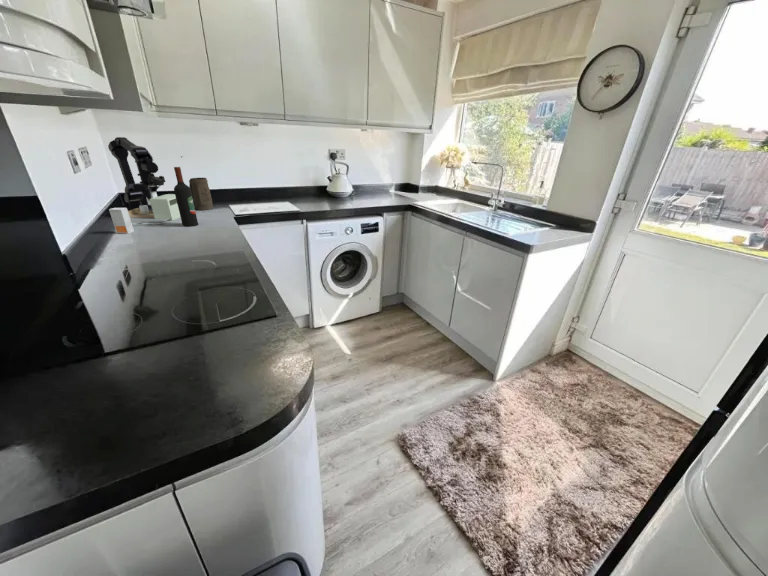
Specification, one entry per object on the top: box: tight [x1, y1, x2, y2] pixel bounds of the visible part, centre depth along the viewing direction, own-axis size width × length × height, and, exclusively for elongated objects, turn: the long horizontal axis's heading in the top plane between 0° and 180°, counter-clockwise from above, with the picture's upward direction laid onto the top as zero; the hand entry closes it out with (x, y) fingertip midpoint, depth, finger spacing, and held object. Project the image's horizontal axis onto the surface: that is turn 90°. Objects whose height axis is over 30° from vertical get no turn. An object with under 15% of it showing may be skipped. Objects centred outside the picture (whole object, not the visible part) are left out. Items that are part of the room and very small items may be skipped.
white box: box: [145, 192, 158, 206], centre depth 188 cm, size 4×4×7 cm
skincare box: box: [108, 207, 135, 235], centre depth 159 cm, size 6×4×12 cm
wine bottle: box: [173, 166, 199, 228], centre depth 171 cm, size 8×8×30 cm
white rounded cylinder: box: [139, 204, 150, 215], centre depth 192 cm, size 4×4×5 cm
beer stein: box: [188, 177, 215, 211], centre depth 212 cm, size 15×11×20 cm
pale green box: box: [150, 193, 181, 222], centre depth 190 cm, size 17×10×12 cm, turn 3°
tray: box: [128, 208, 155, 219], centre depth 191 cm, size 12×18×4 cm, turn 93°
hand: (152, 199), depth 188 cm, fingers closed on white box, 4 cm apart
